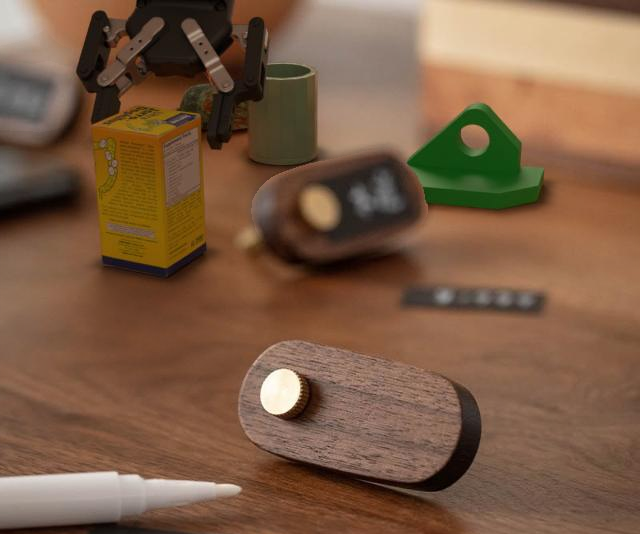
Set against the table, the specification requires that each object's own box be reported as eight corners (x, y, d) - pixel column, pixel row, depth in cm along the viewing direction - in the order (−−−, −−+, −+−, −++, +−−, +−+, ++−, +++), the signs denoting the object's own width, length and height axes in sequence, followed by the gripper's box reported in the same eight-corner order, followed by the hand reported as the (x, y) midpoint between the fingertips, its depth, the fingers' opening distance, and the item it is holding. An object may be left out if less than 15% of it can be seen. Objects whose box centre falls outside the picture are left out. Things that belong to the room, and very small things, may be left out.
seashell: (283, 74, 132) (221, 97, 125) (286, 114, 134) (225, 139, 127) (207, 68, 138) (143, 89, 131) (211, 107, 140) (148, 129, 132)
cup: (241, 163, 120) (239, 77, 117) (257, 142, 126) (255, 60, 123) (309, 167, 119) (309, 81, 116) (322, 146, 125) (323, 63, 121)
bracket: (391, 199, 111) (393, 121, 108) (409, 171, 118) (411, 97, 115) (532, 212, 108) (538, 132, 106) (543, 183, 115) (549, 107, 112)
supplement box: (142, 239, 103) (134, 103, 98) (208, 251, 100) (203, 113, 96) (99, 265, 98) (88, 123, 93) (167, 279, 96) (159, 134, 91)
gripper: (94, -74, 101) (51, 112, 95) (274, -69, 98) (241, 122, 93) (120, -17, 108) (82, 159, 102) (290, -11, 105) (260, 170, 100)
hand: (158, 141), depth 98 cm, fingers open, 8 cm apart
